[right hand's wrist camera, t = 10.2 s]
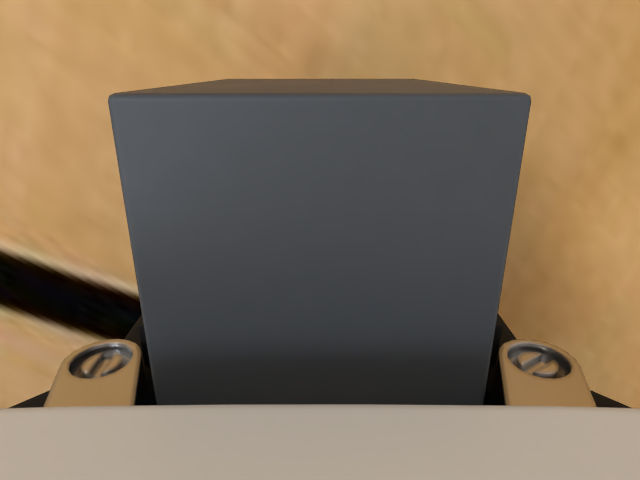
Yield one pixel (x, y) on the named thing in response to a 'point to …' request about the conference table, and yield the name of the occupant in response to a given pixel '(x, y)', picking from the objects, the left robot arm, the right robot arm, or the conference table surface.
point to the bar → (319, 236)
